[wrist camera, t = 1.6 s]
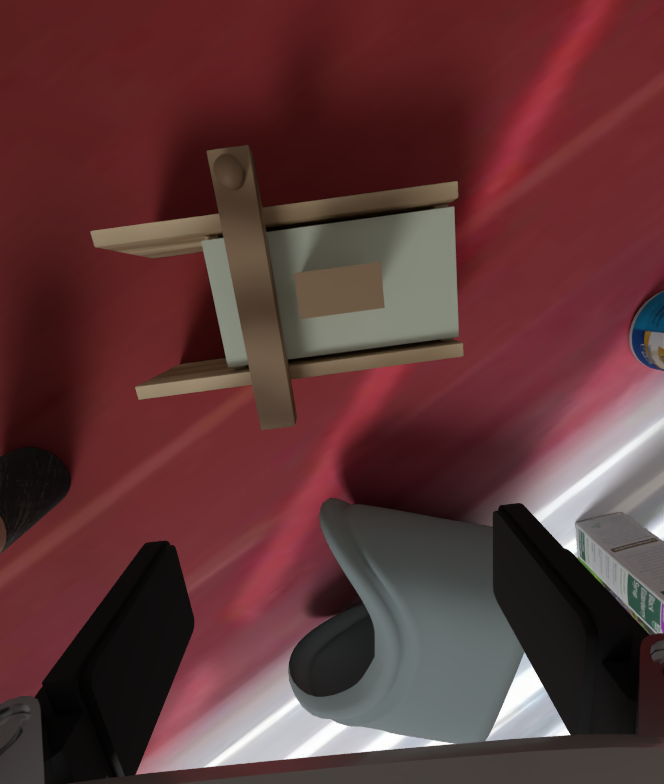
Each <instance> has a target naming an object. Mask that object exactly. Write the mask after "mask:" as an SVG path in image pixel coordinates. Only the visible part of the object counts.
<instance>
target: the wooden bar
mask: <svg viewBox="0 0 664 784" xmlns="http://www.w3.org/2000/svg"><path fill="white" fill-rule="evenodd" d="M207 156H208V161H209V166H210V171H211V176H212V182H213V187H214V192H215V197H216V202H217V207H218V212H219V217H220V222H221V227H222V232H223V238H224V243H225V248H226V253H227V258H228V263H229V268H230V273H231V278H232V283H233V289H234V294H235V299H236V304H237V309H238V314H239V319H240V324H241V329H242V334H243V340H244V345H245V350H246V355H247V360H248V365H249V370H250V375H251V380H252V385H253V391H254V396H255V401H256V406H257V411H258V416H259V421H260V426H261V430H266V429H274V428H281V427H289V426H295V424H296V419H297V414H296V408H295V402H294V396H293V390H292V384H291V378H290V372H289V366H288V360H287V354H286V348H285V342H284V336H283V330H282V324H281V318H280V312H279V305H278V299H277V293H276V287H275V281H274V275H273V269H272V263H271V257H270V251H269V245H268V239H267V233H266V227H265V221H264V215H263V209H262V203H261V197H260V191H259V185H258V179H257V173H256V167H255V161H254V156H253V154H252V152H251V150H250V148H249V146H248V145H244V146H237V147H229V148H222V149H215V150H208V151H207Z"/></svg>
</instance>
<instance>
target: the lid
mask: <svg viewBox="0 0 664 784" xmlns="http://www.w3.org/2000/svg"><path fill="white" fill-rule="evenodd" d="M266 233H267V239H268V245H269V251H270V257H271V263H272V269H273V275H274V281H275V287H276V293H277V299H278V305H279V312H280V318H281V324H282V330H283V336H284V342H285V348H286V354H287V360H288V359H296V358H303V357H311V356H318V355H326V354H333V353H341V352H348V351H355V350H363V349H370V348H378V347H385V346H393V345H400V344H408V343H415V342H423V341H430V340H437V339H445V338H452V337H459V330H458V301H457V272H456V243H455V214H454V207H447V208H440V209H432V210H425V211H418V212H410V213H403V214H396V215H388V216H381V217H374V218H366V219H359V220H352V221H344V222H337V223H329V224H322V225H315V226H307V227H300V228H293V229H285V230H278V231H271V232H266ZM201 242H202V247H203V252H204V256H205V261H206V266H207V271H208V275H209V280H210V285H211V289H212V294H213V299H214V304H215V308H216V313H217V318H218V322H219V327H220V332H221V337H222V341H223V346H224V351H225V355H226V360H227V365H228V368H229V367H236V366H244V365H248V360H247V355H246V350H245V345H244V340H243V334H242V329H241V324H240V319H239V314H238V309H237V304H236V299H235V294H234V289H233V283H232V278H231V273H230V268H229V263H228V258H227V253H226V248H225V243H224V238H219V239H212V240H204V241H201Z"/></svg>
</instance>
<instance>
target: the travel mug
mask: <svg viewBox="0 0 664 784" xmlns="http://www.w3.org/2000/svg"><path fill="white" fill-rule="evenodd" d="M69 487H70V477H69V474H68V471H67V469H66V467H65V466H64V464H63V463H62V462H61V461H60V460H59V459H58V458H57V457H56V456H55V455H53V454H51V453H50V452H48V451H45V450H43V449H39V448H33V447H26V448H20V449H17V450H14V451H12V452H9V453H7V454H5V455H3V456H1V457H0V554H1V553H2V552H3V551H4V550H6V549H7V548H8V547H9V546H10V545H11V544H12V543H14V542H15V541H16V540H17V539H18V538H19V537H20V536H22V535H23V534H24V533H25V532H26V531H27V530H28V529H30V528H31V527H32V526H33V525H34V524H35V523H37V522H38V521H39V520H40V519H41V518H42V517H43V516H45V515H46V514H47V513H48V512H49V511H50V510H51V509H53V508H54V507H55V506H56V505H57V504H58V503H59V502H60V501H61V500H62V499H63V498H64V497H65V496H66V494H67V492H68V490H69Z"/></svg>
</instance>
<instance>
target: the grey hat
mask: <svg viewBox="0 0 664 784" xmlns="http://www.w3.org/2000/svg"><path fill="white" fill-rule="evenodd" d="M319 519H320V525H321V528H322V531H323V534H324V536H325V538H326V541H327V543H328V545H329V547H330V549H331V551H332V552H333V554H334V556H335V558H336V560H337V561H338V563H339V565H340V566H341V568H342V570H343V571H344V573H345V574H346V576H347V577H348V579H349V581H350V582H351V584H352V585H353V587H354V588H355V590H356V591H357V593H358V595H359V596H360V598H361V600H362V601H363V603H360V604H358V605H356V606H354V607H352V608H350V609H347V610H345V611H343V612H342V613H340V614H338V615H336V616H334V617H332V618H331V619H329V620H327V621H326V622H324V623H322V624H321V625H319V626H318V627H316V628H315V629H313V630H312V631H311V632H309V633H308V634H307V635H306V636H305V637H304V638H303V639H302V640H301V641H300V642H299V643H298V644H297V646H296V647H295V648H294V650H293V652H292V654H291V657H290V661H289V669H288V673H289V681H290V684H291V687H292V689H293V692H294V694H295V696H296V698H297V699H298V701H299V702H300V704H301V705H302V707H303V708H305V709H306V710H307V711H308V712H309V713H311V714H312V715H314V716H317V717H320V718H323V719H332V720H334V721H335V722H337V723H340V724H343V725H347V726H361V727H367V728H373V729H379V730H384V731H387V732H390V733H395V734H400V735H405V736H411V737H418V738H424V739H430V740H436V741H442V742H448V743H454V744H462V743H474V742H485V740H486V739H487V737H488V736H489V734H490V732H491V730H492V728H493V725H494V723H495V721H496V719H497V717H498V714H499V712H500V710H501V707H502V705H503V703H504V700H505V698H506V695H507V693H508V691H509V688H510V686H511V684H512V681H513V679H514V677H515V674H516V672H517V669H518V667H519V664H520V662H521V659H522V657H523V654H524V650H523V648H522V646H521V644H520V643H519V641H518V639H517V637H516V635H515V634H514V632H513V630H512V628H511V626H510V625H509V623H508V621H507V619H506V617H505V616H504V614H503V612H502V610H501V608H500V606H499V605H498V603H497V601H496V598H495V595H494V591H493V527H490V526H484V525H479V524H473V523H467V522H461V521H455V520H449V519H443V518H438V517H432V516H427V515H421V514H416V513H411V512H405V511H399V510H394V509H388V508H382V507H376V506H370V505H363V504H349V503H347V502H345V501H342V500H340V499H337V498H329V499H328V500H326V501H325V502H323V504H322V506H321V510H320V514H319ZM363 604H364V606H361V605H363ZM360 606H361V607H360Z"/></svg>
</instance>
